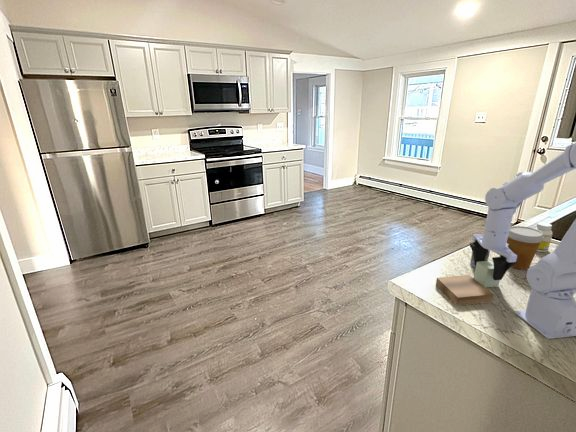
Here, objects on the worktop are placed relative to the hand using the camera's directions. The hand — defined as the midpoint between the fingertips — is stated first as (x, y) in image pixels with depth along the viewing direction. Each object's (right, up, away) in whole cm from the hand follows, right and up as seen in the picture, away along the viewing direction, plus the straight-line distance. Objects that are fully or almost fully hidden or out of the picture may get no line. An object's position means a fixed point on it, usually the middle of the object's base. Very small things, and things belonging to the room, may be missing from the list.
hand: (487, 272), depth 89 cm
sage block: (0, -3, +1) cm, 3 cm away
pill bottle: (+4, 0, +11) cm, 12 cm away
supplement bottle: (+31, +5, +20) cm, 37 cm away
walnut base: (-9, -5, -4) cm, 11 cm away
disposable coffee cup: (+16, 0, +10) cm, 19 cm away
